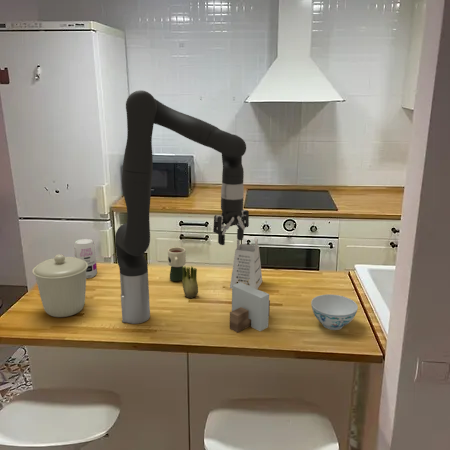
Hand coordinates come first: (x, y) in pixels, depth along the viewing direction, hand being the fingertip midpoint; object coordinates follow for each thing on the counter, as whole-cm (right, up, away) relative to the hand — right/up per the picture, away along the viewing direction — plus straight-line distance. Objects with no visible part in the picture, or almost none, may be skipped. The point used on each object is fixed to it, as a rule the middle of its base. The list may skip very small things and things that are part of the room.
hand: (231, 242), depth 160 cm
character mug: (-22, -17, +31) cm, 42 cm away
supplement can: (-60, -15, +35) cm, 71 cm away
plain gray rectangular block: (+6, -27, -2) cm, 28 cm away
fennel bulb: (-15, -21, +17) cm, 31 cm away
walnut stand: (+6, -27, -2) cm, 28 cm away
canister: (-59, -25, +5) cm, 64 cm away
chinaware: (+34, -28, -3) cm, 44 cm away
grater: (+7, -18, +27) cm, 33 cm away
